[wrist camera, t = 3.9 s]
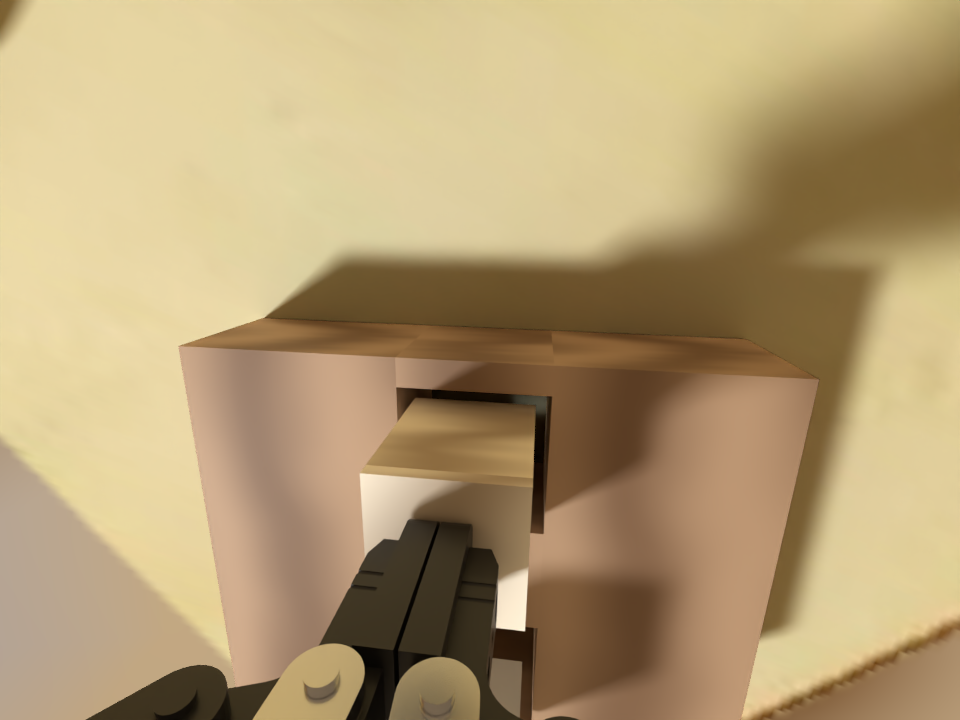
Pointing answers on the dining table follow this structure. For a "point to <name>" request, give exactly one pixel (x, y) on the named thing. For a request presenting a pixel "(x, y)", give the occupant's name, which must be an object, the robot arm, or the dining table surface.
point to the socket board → (555, 499)
